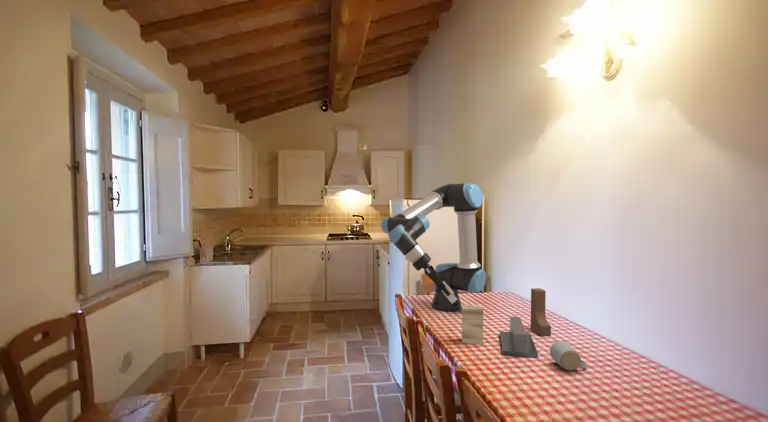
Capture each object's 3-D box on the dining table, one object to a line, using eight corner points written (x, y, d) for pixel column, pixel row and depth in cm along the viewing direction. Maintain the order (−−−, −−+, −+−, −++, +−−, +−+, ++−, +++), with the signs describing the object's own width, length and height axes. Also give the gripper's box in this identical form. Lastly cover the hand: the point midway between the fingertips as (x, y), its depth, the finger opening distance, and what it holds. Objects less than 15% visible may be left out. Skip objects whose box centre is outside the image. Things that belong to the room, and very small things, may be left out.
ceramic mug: (560, 372, 129) (561, 349, 128) (549, 361, 137) (549, 340, 137) (592, 372, 129) (593, 349, 129) (578, 362, 137) (579, 340, 137)
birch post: (462, 338, 160) (462, 304, 159) (482, 340, 158) (483, 305, 157) (461, 343, 155) (462, 307, 154) (482, 344, 153) (483, 309, 153)
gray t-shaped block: (499, 334, 164) (499, 315, 164) (530, 337, 162) (530, 317, 161) (502, 354, 143) (503, 333, 143) (537, 357, 140) (538, 335, 140)
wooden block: (551, 336, 163) (551, 292, 163) (540, 336, 163) (541, 293, 162) (539, 328, 172) (540, 288, 172) (530, 329, 171) (530, 288, 171)
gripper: (411, 260, 172) (444, 298, 170) (410, 267, 147) (448, 311, 146) (424, 249, 172) (457, 286, 170) (425, 254, 147) (463, 297, 145)
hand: (453, 298), depth 158 cm, fingers open, 13 cm apart
